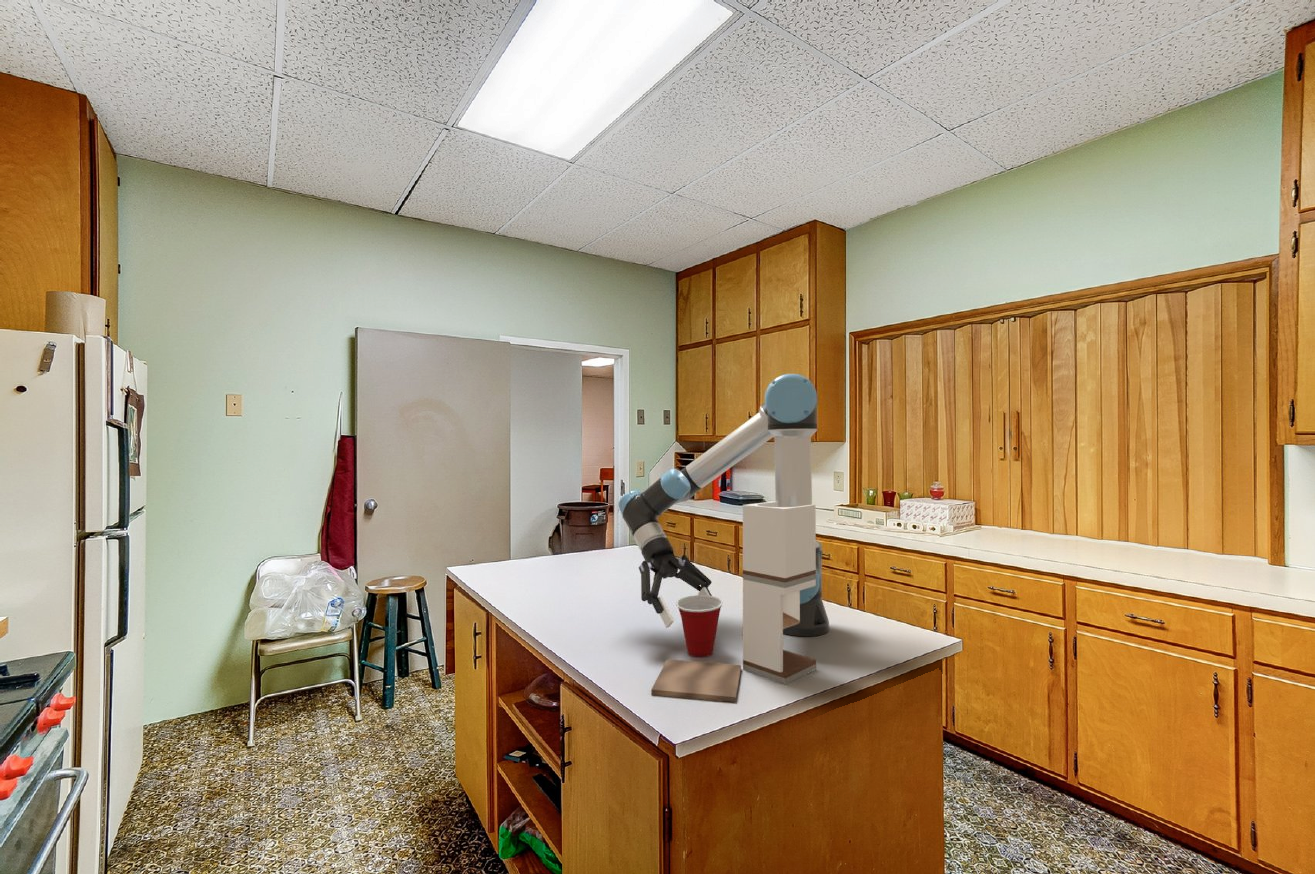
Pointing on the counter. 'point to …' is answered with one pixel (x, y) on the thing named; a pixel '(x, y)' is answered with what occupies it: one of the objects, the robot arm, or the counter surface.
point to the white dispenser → (776, 585)
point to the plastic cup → (700, 623)
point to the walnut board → (698, 680)
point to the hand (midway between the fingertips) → (693, 619)
